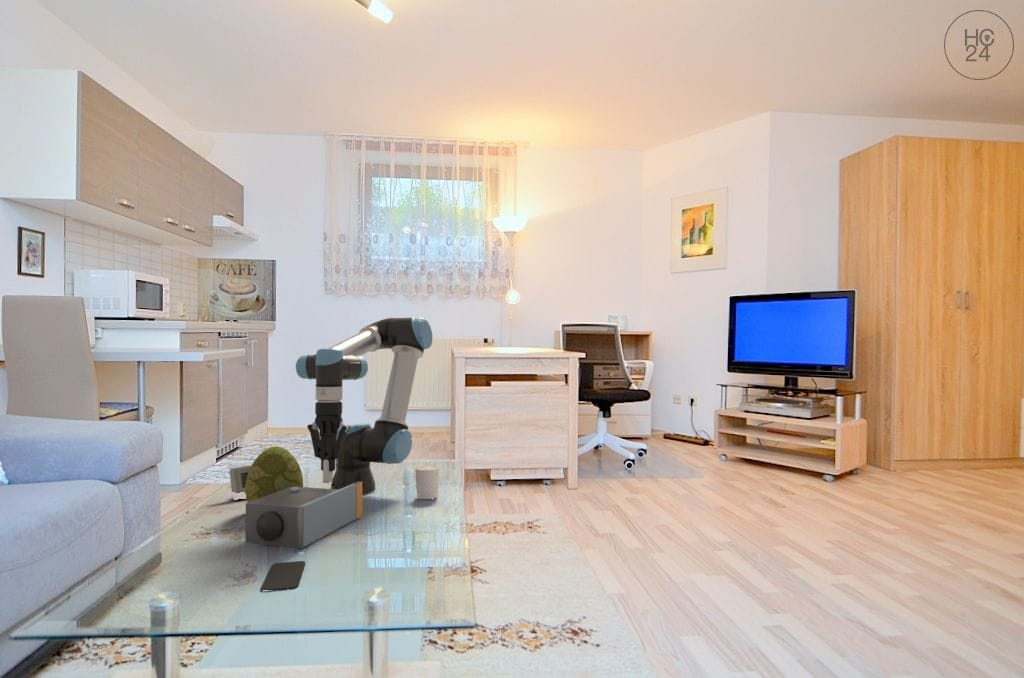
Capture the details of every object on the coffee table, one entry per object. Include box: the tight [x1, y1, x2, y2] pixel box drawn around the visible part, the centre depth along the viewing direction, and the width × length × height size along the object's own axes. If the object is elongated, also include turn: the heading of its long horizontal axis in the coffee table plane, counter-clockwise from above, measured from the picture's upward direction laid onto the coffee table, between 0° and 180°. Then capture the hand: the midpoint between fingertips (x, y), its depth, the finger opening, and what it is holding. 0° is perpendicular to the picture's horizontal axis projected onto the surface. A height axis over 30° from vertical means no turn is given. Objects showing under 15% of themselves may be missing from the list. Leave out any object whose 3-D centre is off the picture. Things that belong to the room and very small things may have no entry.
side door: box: [296, 481, 363, 550], centre depth 156 cm, size 29×1×10 cm, turn 165°
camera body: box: [245, 486, 337, 549], centre depth 154 cm, size 21×16×11 cm
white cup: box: [414, 464, 440, 500], centre depth 192 cm, size 8×8×10 cm
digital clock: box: [229, 464, 252, 493], centre depth 195 cm, size 16×9×11 cm, turn 123°
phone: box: [260, 560, 306, 591], centre depth 125 cm, size 7×1×15 cm
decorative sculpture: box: [245, 445, 304, 503], centre depth 175 cm, size 16×16×20 cm
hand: (327, 482), depth 168 cm, fingers closed
